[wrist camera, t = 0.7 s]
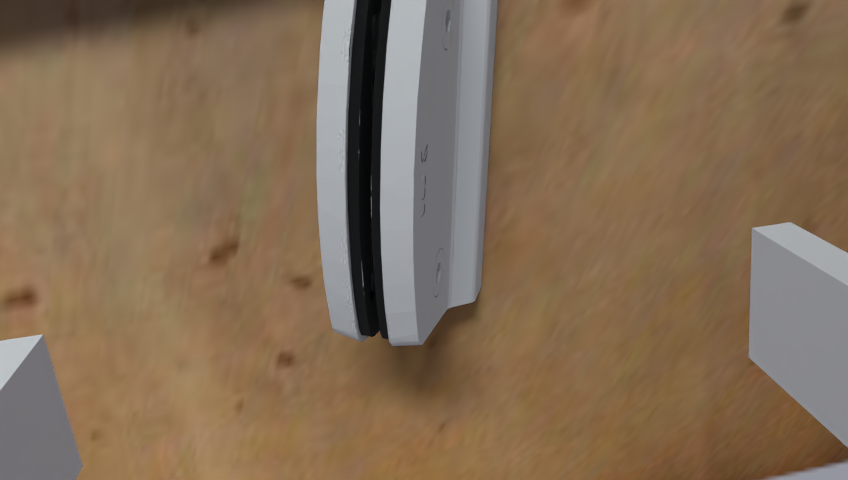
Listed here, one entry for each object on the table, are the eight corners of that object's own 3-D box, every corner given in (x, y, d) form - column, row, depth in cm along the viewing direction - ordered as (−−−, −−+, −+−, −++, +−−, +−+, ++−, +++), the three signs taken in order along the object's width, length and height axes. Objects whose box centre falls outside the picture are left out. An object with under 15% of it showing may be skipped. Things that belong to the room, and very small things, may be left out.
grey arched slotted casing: (480, 295, 40) (434, 399, 31) (389, 283, 41) (318, 381, 32) (501, -65, 34) (452, -68, 25) (393, -68, 35) (308, -72, 26)
